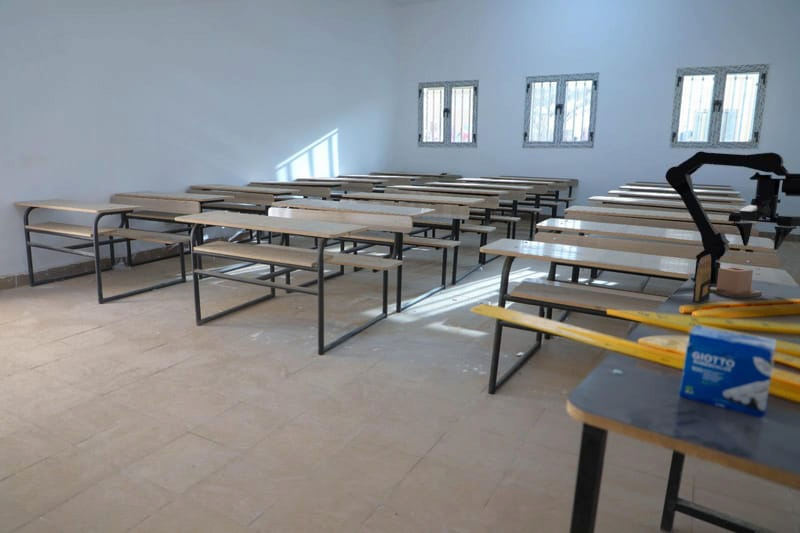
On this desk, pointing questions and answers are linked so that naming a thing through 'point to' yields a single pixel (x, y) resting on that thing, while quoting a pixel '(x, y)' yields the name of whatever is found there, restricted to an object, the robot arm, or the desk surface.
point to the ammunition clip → (703, 280)
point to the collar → (734, 279)
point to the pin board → (734, 294)
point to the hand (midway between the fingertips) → (760, 247)
